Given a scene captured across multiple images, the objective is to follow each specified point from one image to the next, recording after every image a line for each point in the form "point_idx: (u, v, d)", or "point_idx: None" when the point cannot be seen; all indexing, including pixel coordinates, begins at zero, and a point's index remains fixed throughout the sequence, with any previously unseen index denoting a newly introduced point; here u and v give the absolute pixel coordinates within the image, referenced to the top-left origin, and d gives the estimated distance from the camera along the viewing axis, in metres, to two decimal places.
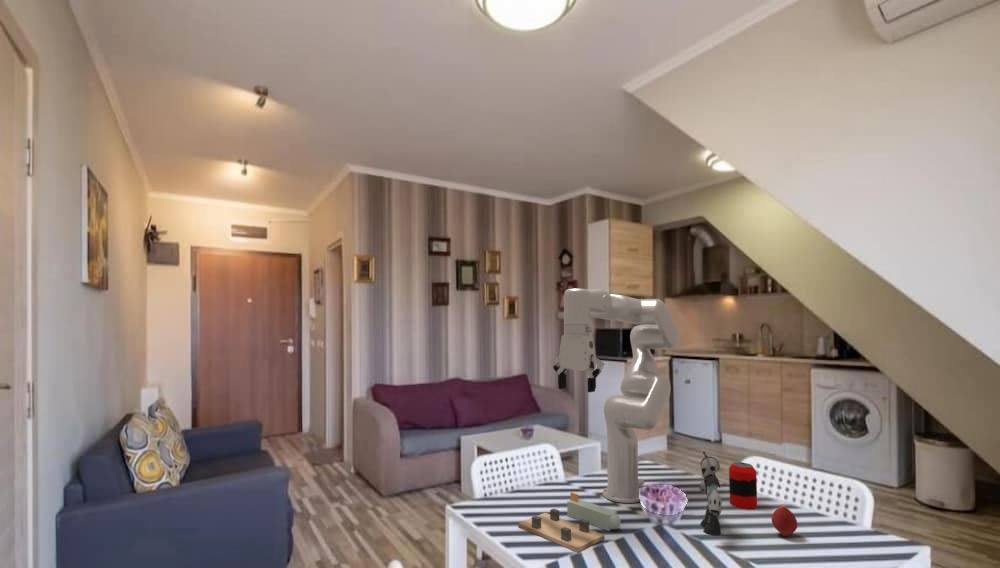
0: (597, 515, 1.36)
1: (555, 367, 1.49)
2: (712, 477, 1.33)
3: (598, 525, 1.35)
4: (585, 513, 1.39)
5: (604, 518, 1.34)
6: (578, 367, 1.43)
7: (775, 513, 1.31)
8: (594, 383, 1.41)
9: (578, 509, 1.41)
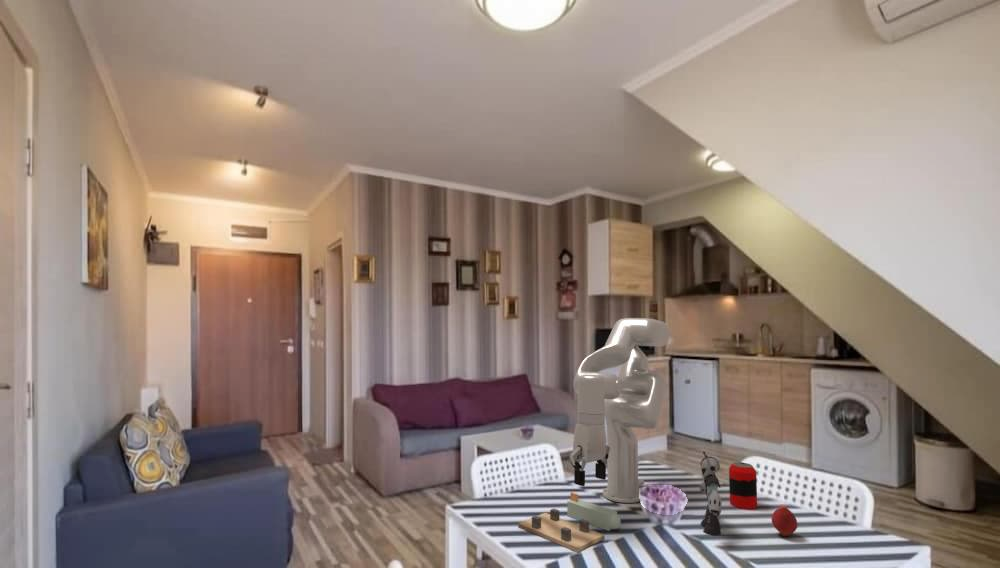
0: (597, 515, 1.36)
1: (578, 463, 1.35)
2: (712, 477, 1.33)
3: (598, 525, 1.35)
4: (585, 513, 1.39)
5: (604, 518, 1.34)
6: (600, 457, 1.40)
7: (775, 513, 1.31)
8: None
9: (578, 509, 1.41)
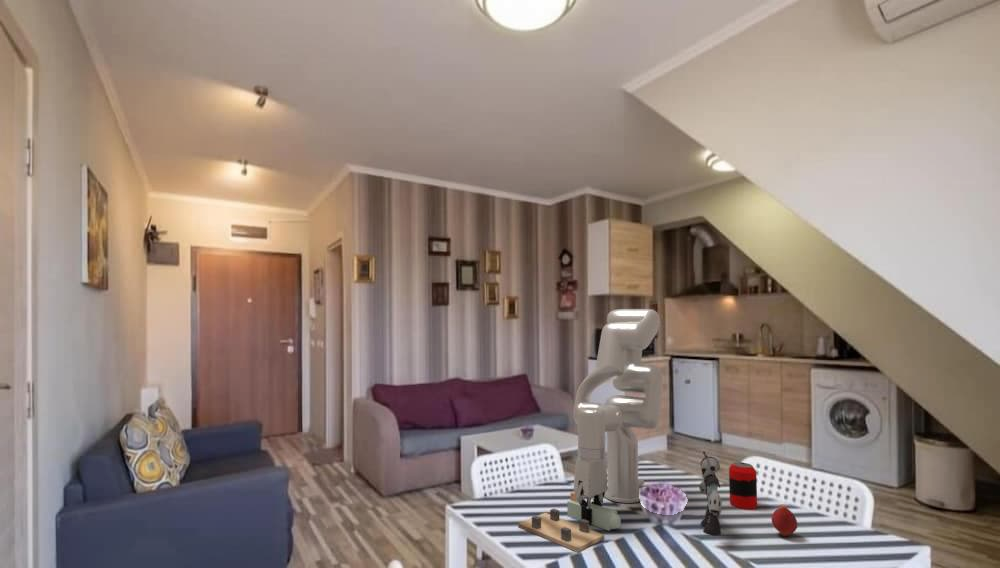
0: (597, 515, 1.36)
1: (584, 502, 1.36)
2: (712, 477, 1.33)
3: (598, 525, 1.35)
4: None
5: (604, 518, 1.34)
6: (601, 491, 1.40)
7: (775, 513, 1.31)
8: None
9: (578, 509, 1.40)
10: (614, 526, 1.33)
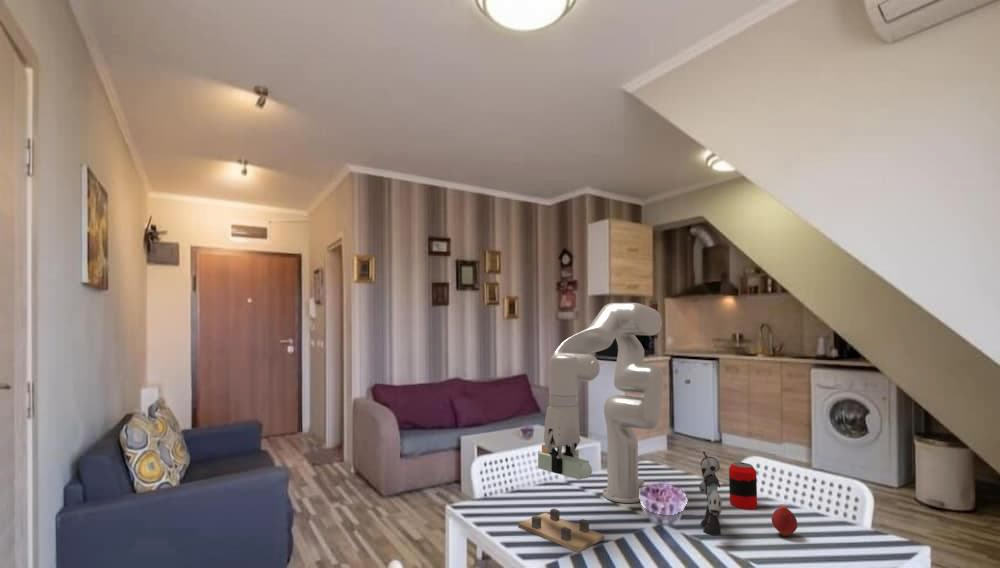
0: (568, 464, 1.29)
1: (555, 450, 1.30)
2: (712, 477, 1.33)
3: (569, 475, 1.29)
4: None
5: (574, 466, 1.28)
6: (573, 441, 1.34)
7: (775, 513, 1.31)
8: None
9: (549, 460, 1.34)
10: (585, 475, 1.26)
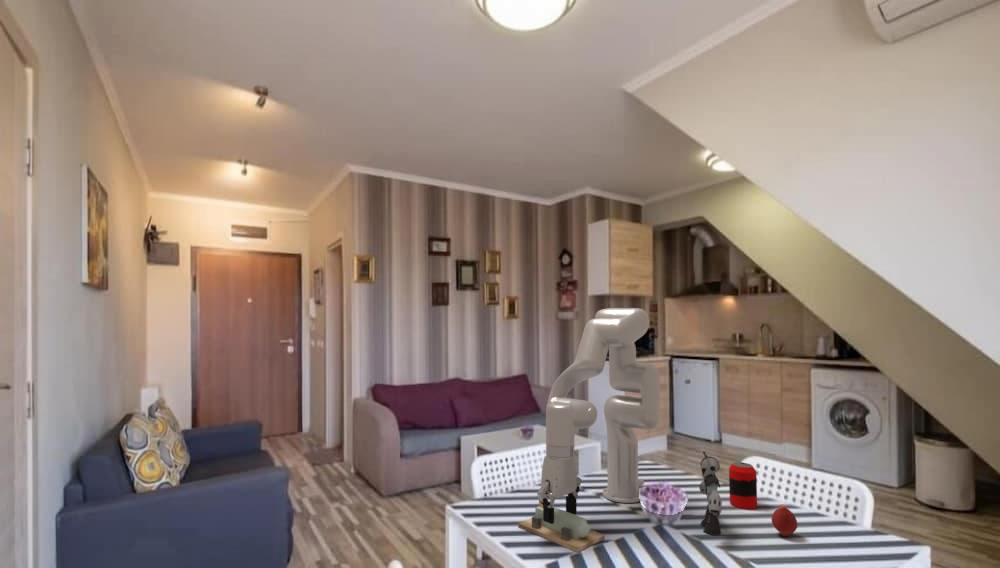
0: (565, 523, 1.28)
1: (546, 500, 1.27)
2: (712, 477, 1.33)
3: None
4: None
5: (572, 526, 1.27)
6: (570, 490, 1.32)
7: (775, 513, 1.31)
8: None
9: None
10: (582, 535, 1.25)
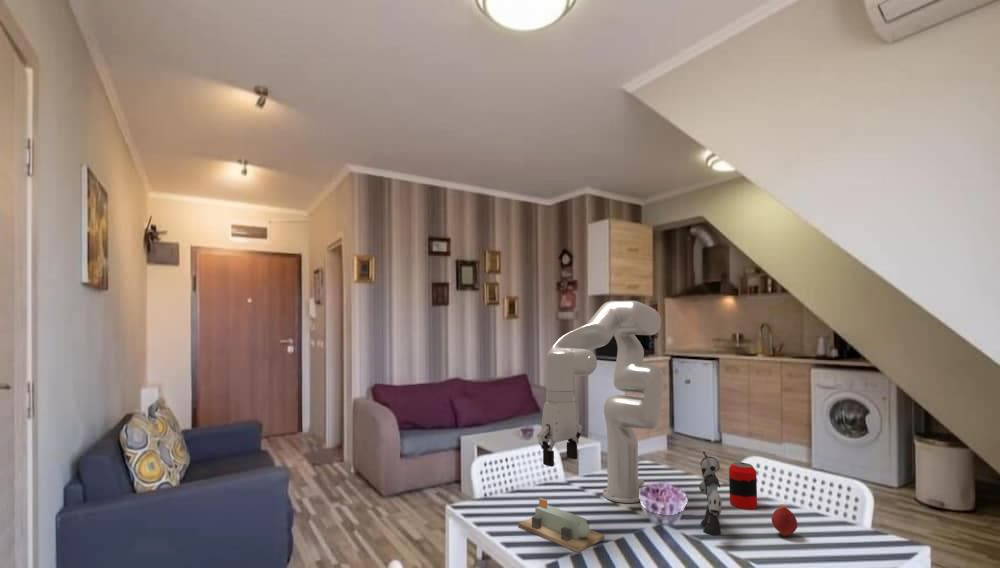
0: (565, 523, 1.28)
1: (546, 443, 1.28)
2: (712, 477, 1.33)
3: None
4: (553, 520, 1.31)
5: (572, 526, 1.27)
6: (570, 436, 1.33)
7: (775, 513, 1.31)
8: None
9: (546, 516, 1.33)
10: (582, 535, 1.25)
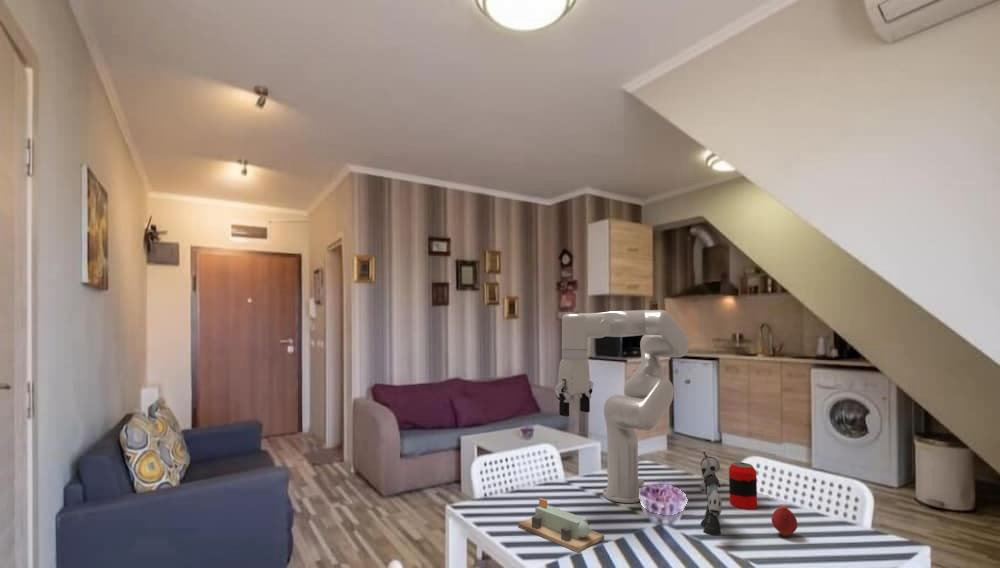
0: (565, 523, 1.28)
1: (562, 395, 1.43)
2: (712, 477, 1.33)
3: None
4: (553, 520, 1.31)
5: (572, 526, 1.27)
6: (584, 390, 1.48)
7: (775, 513, 1.31)
8: None
9: (546, 516, 1.33)
10: (582, 535, 1.25)
